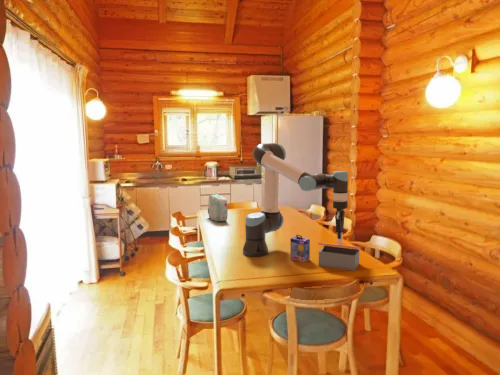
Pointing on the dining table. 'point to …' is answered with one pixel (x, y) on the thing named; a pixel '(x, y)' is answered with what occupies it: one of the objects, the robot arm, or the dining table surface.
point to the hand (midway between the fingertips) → (339, 244)
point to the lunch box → (217, 208)
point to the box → (339, 258)
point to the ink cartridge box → (300, 249)
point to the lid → (339, 245)
